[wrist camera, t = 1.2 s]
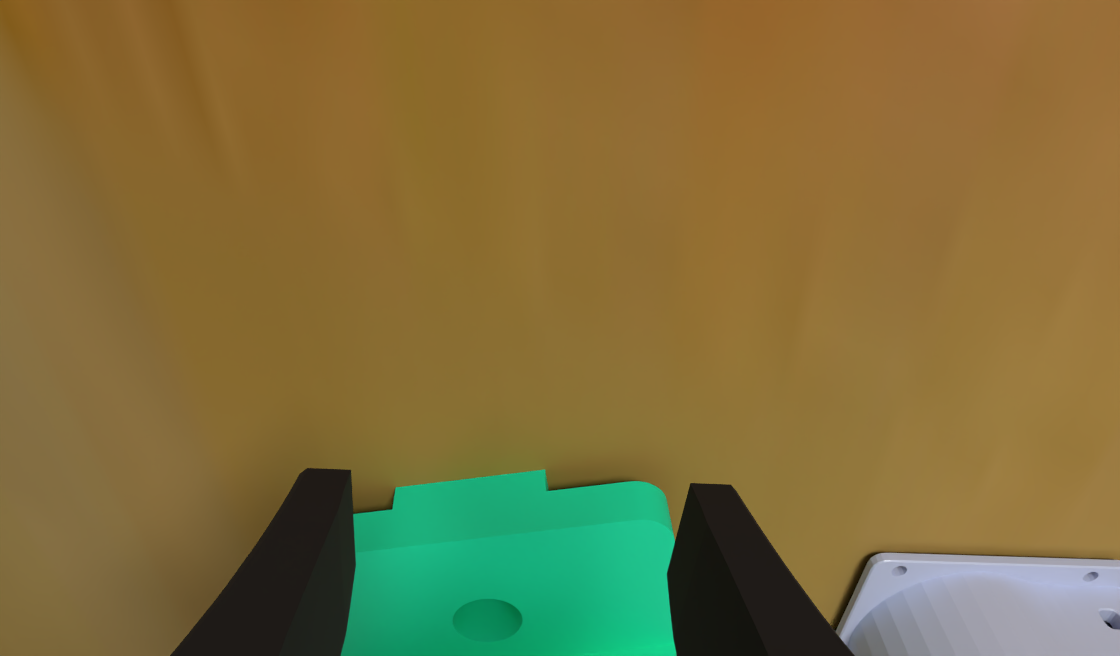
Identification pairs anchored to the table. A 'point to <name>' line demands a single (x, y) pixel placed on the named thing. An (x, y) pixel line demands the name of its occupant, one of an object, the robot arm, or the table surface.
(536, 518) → the camera mount
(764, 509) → the table surface
